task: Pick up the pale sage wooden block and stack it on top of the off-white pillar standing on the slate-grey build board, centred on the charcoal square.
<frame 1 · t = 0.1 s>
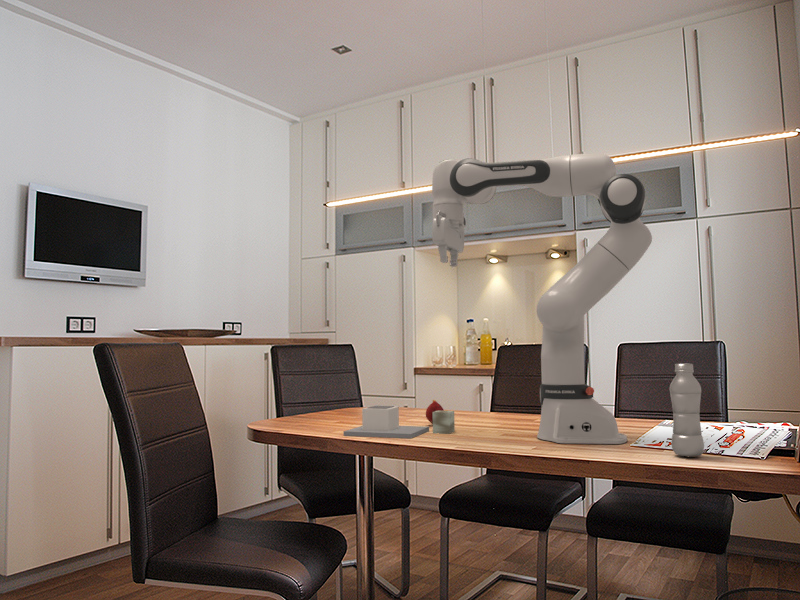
hand: (448, 264, 177), 48 cm above the table, fingers open, 8 cm apart
onion: (435, 426, 193), on the table
sage block: (443, 432, 177), on the table
plastic bottle: (688, 457, 134), on the table
build base: (387, 433, 177), on the table
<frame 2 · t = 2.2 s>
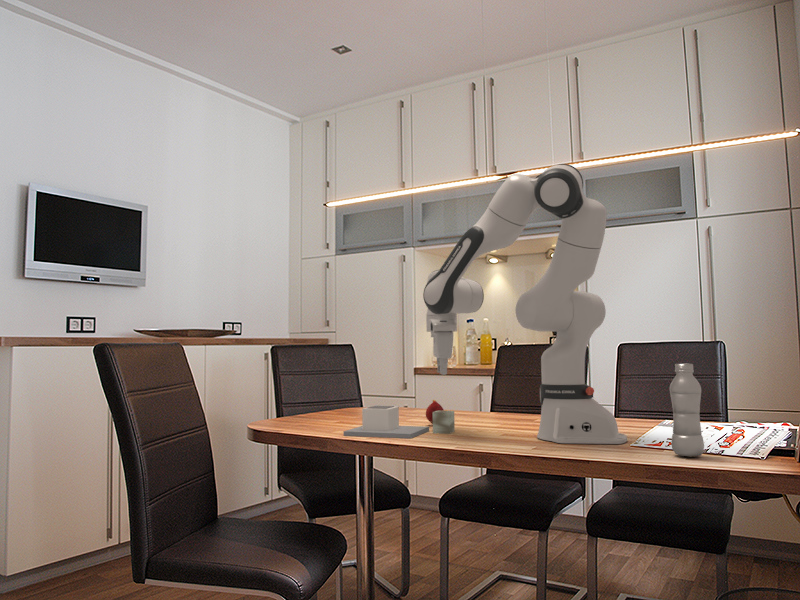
hand: (442, 373, 179), 17 cm above the table, fingers open, 8 cm apart
nothing on the table moved.
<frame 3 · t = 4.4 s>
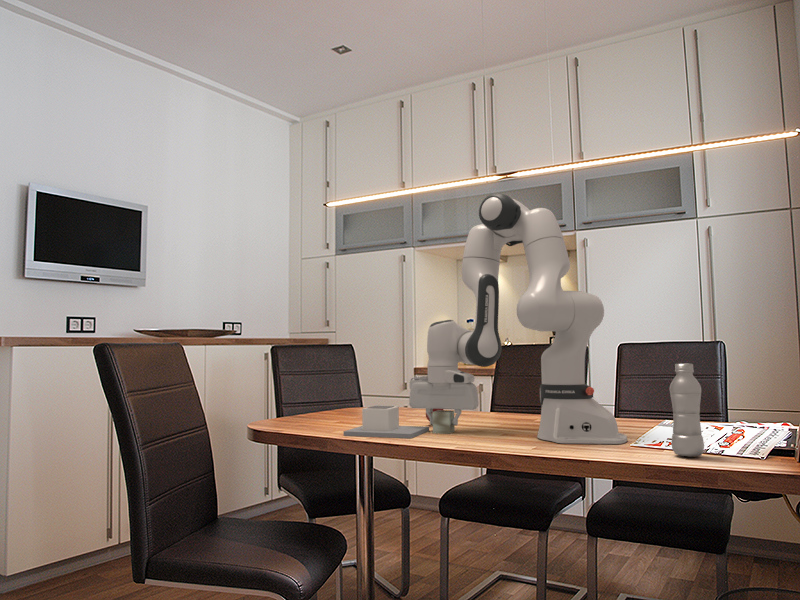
hand: (443, 424, 178), 2 cm above the table, fingers closed on sage block, 5 cm apart
sage block: (443, 432, 177), on the table, touching gripper
everything else where it was.
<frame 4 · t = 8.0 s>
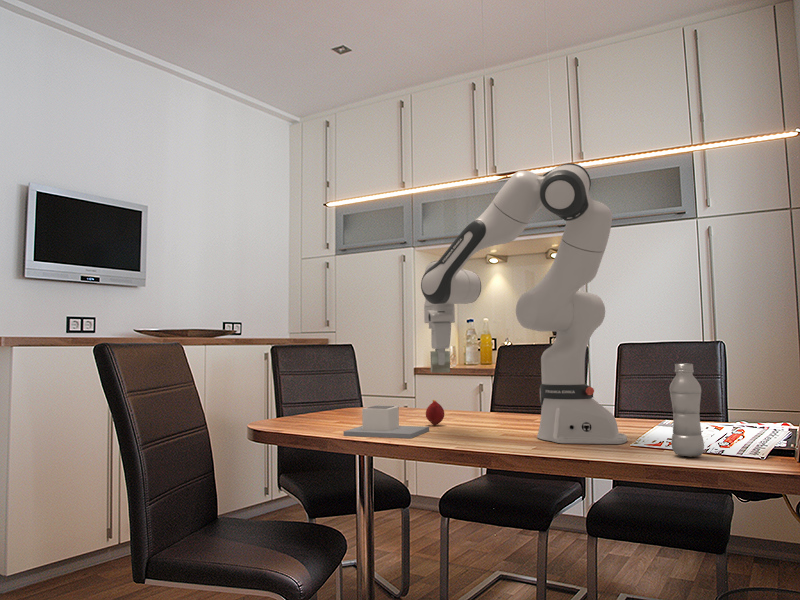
hand: (440, 364, 179), 19 cm above the table, fingers closed on sage block, 5 cm apart
sage block: (440, 372, 179), point 17 cm above the table, touching gripper
everything else where it was.
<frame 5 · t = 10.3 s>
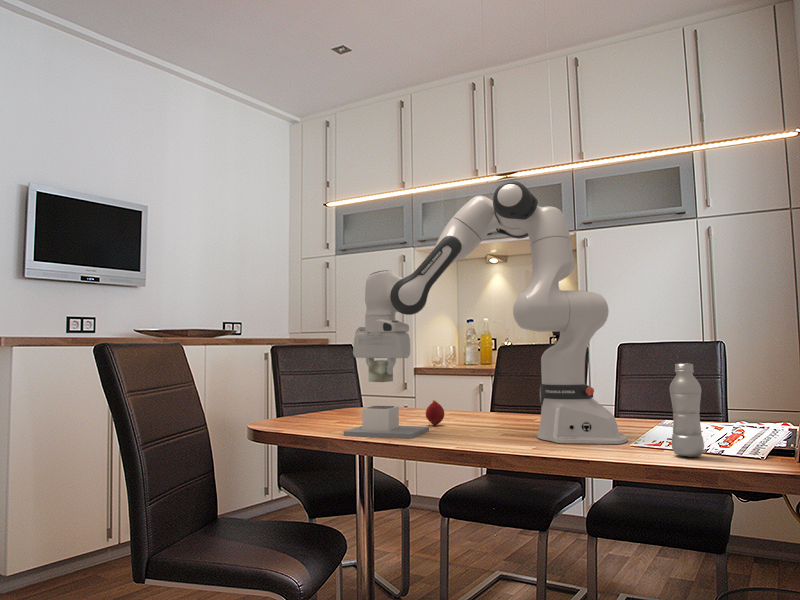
hand: (380, 374, 180), 17 cm above the table, fingers closed on sage block, 5 cm apart
sage block: (380, 381, 179), point 15 cm above the table, touching gripper
everything else where it was.
when the fingers open (11 cm above the table, at t = 12.1 s): sage block drops 2 cm, resting on build base.
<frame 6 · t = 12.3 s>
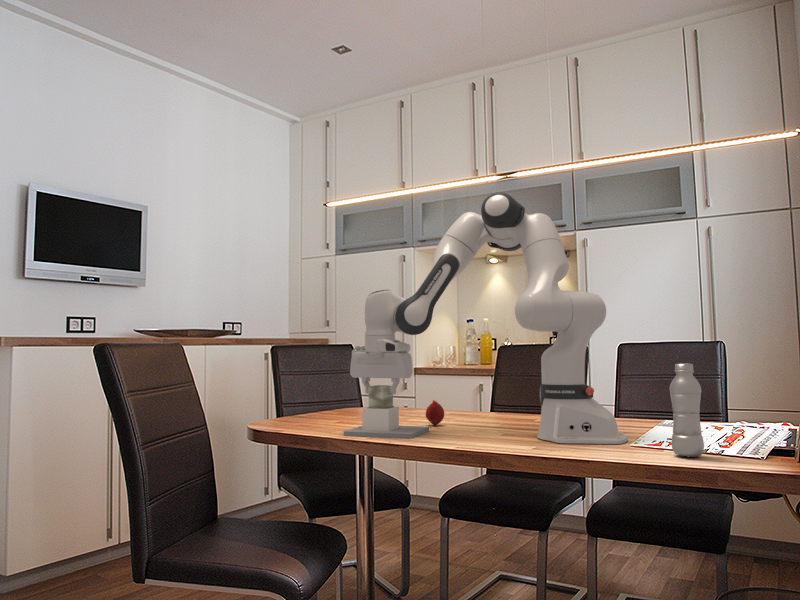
hand: (380, 393, 179), 11 cm above the table, fingers open, 7 cm apart
sage block: (380, 406, 178), point 7 cm above the table, touching build base
everything else where it was.
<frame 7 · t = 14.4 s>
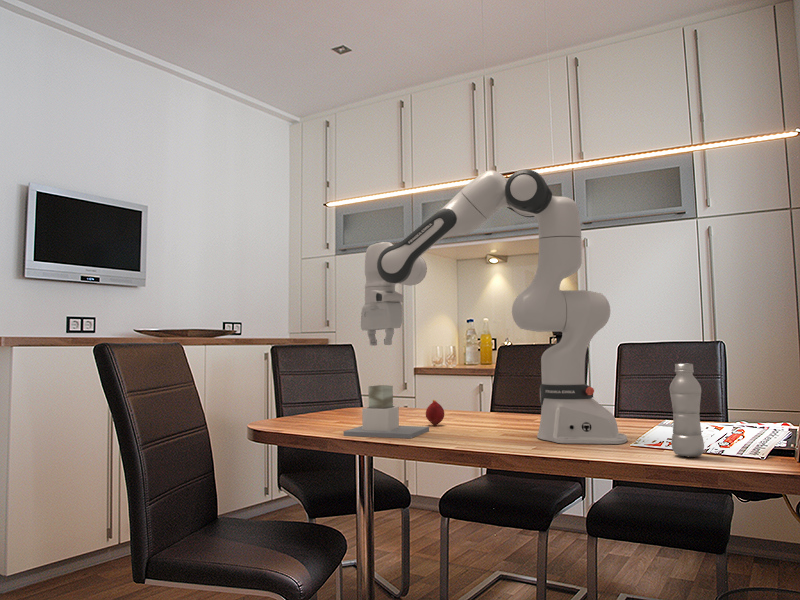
hand: (380, 345, 180), 25 cm above the table, fingers open, 8 cm apart
nothing on the table moved.
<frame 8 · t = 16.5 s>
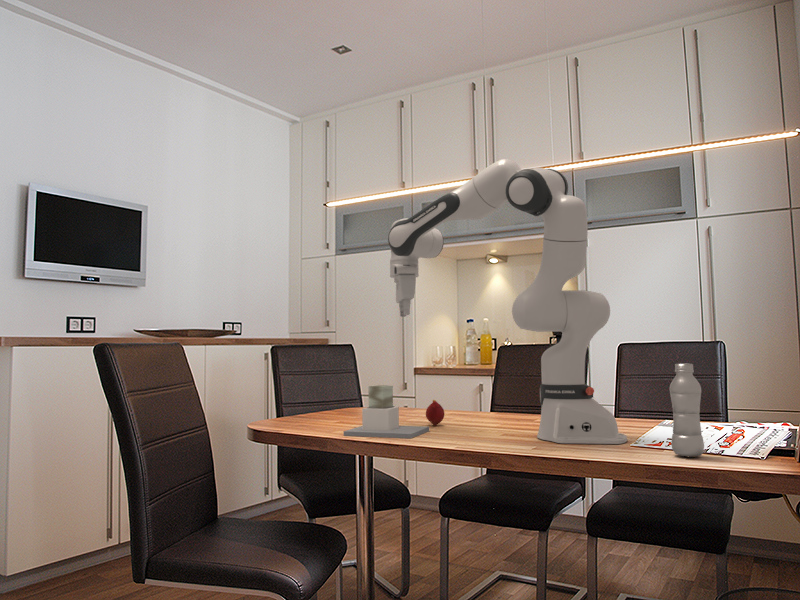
hand: (404, 315, 191), 34 cm above the table, fingers open, 8 cm apart
nothing on the table moved.
at the end: sage block inside the target area on the build base (0.0 cm from its centre), point 7.4 cm above the build base's base; sage block tilted 0°; the gripper is holding nothing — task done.
